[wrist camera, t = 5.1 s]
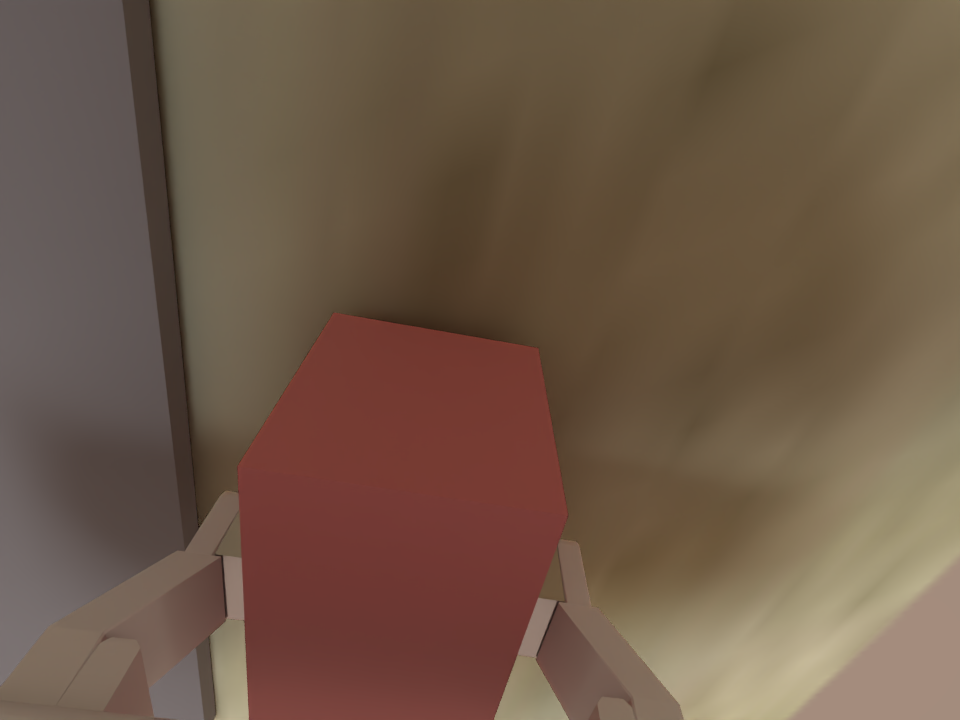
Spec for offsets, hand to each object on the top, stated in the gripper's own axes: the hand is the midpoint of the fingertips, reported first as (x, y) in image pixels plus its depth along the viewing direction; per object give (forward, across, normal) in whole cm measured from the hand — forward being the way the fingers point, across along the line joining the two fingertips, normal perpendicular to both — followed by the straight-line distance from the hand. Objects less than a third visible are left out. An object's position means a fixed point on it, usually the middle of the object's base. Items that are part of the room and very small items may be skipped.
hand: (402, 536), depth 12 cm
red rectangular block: (+2, 0, 0) cm, 2 cm away
